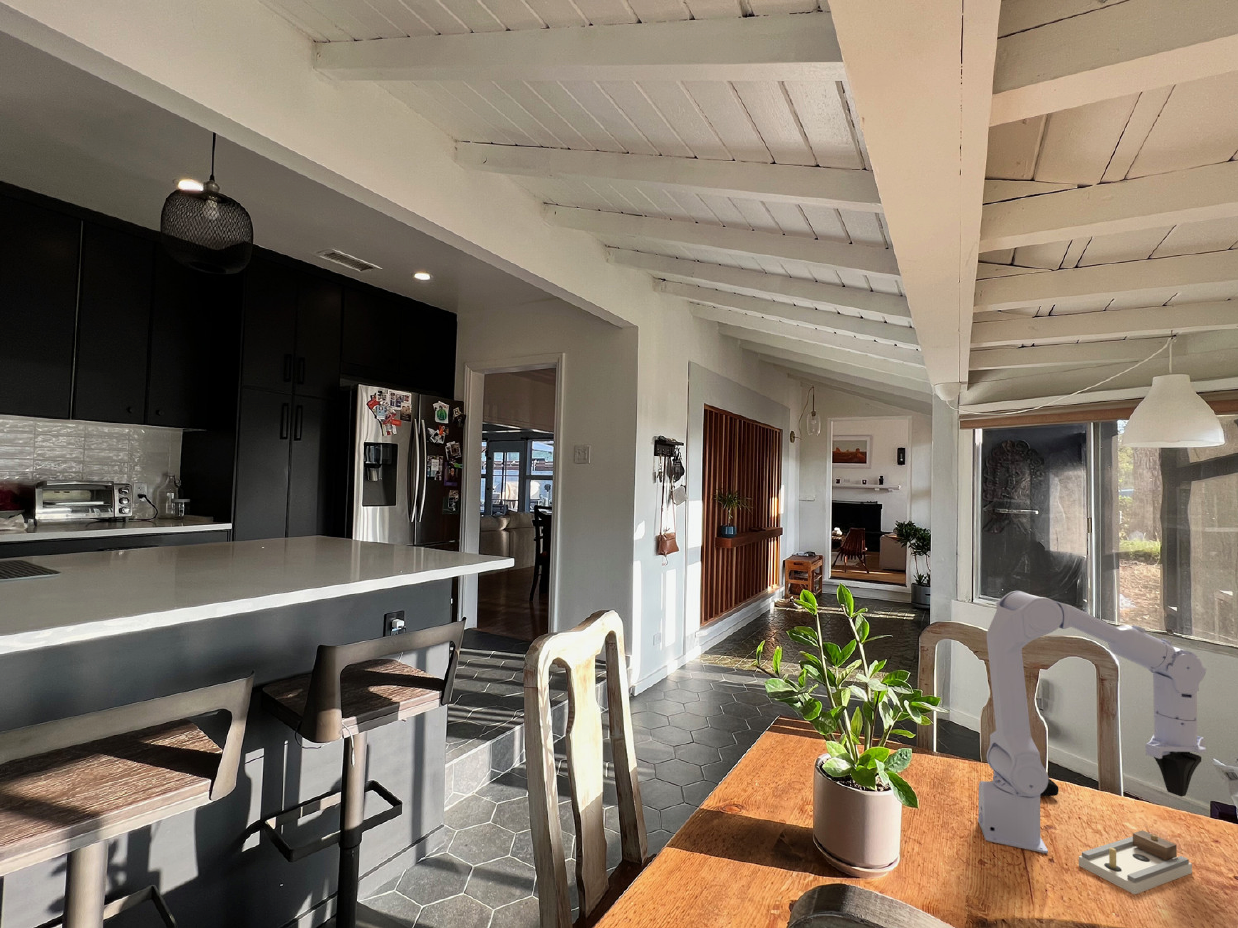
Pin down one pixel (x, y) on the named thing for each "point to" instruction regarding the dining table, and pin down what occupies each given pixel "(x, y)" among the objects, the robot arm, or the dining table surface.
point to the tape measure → (1050, 789)
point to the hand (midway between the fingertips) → (1176, 793)
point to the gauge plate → (1132, 866)
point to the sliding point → (1155, 845)
